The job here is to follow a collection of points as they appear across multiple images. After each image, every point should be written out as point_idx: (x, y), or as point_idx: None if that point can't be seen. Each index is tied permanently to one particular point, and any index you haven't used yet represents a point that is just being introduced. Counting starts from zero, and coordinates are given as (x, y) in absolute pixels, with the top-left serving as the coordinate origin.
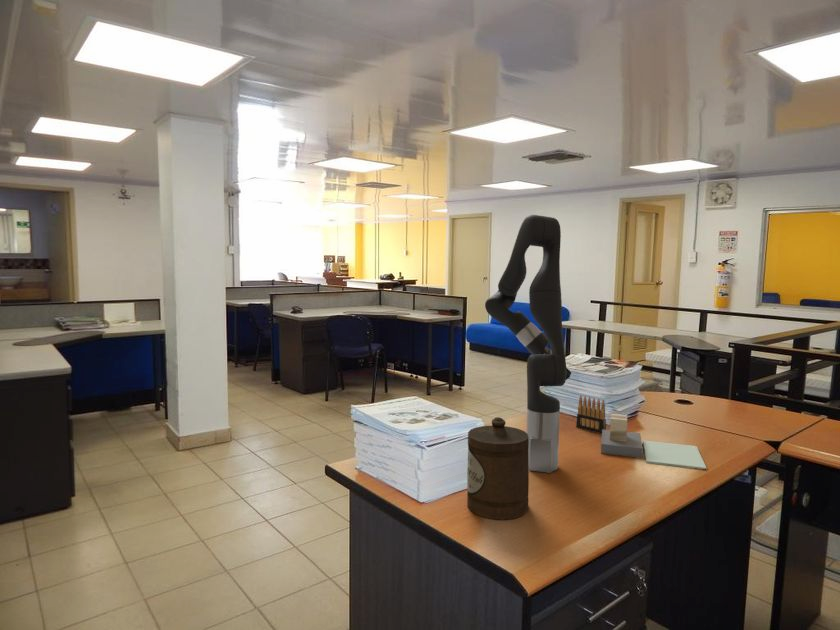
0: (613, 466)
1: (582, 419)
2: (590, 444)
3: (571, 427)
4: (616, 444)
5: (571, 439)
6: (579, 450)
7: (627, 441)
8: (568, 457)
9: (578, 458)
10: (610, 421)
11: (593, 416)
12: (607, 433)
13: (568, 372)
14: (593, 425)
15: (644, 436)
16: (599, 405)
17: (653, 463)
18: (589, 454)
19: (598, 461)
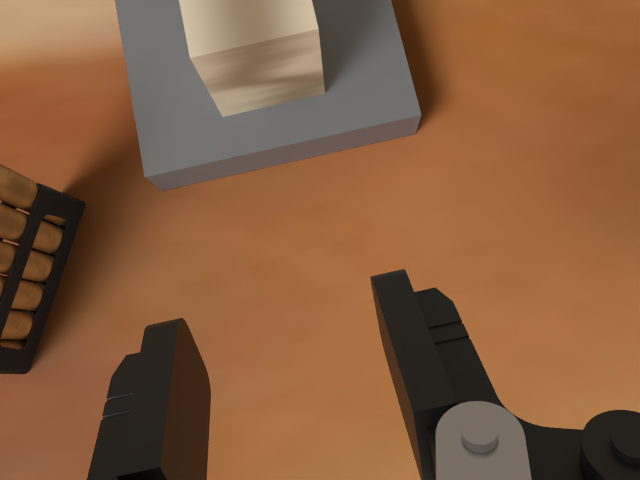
0: (564, 41)
1: (7, 331)
2: (306, 214)
3: (46, 397)
4: (384, 47)
5: (277, 328)
6: (436, 236)
7: None
8: (578, 254)
9: (560, 206)
10: (309, 43)
11: (9, 251)
12: (213, 132)
13: (184, 361)
14: (43, 258)
15: (26, 16)
16: None
17: None
18: (467, 176)
19: (541, 114)
